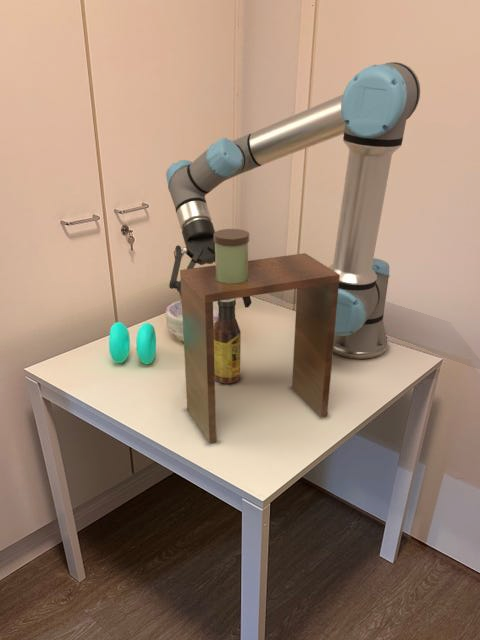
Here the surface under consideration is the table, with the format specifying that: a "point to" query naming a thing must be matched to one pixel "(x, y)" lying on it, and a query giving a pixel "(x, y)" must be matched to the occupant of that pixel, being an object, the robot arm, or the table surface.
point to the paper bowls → (176, 318)
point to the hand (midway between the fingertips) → (221, 309)
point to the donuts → (121, 343)
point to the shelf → (263, 277)
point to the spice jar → (231, 255)
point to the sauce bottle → (227, 343)
